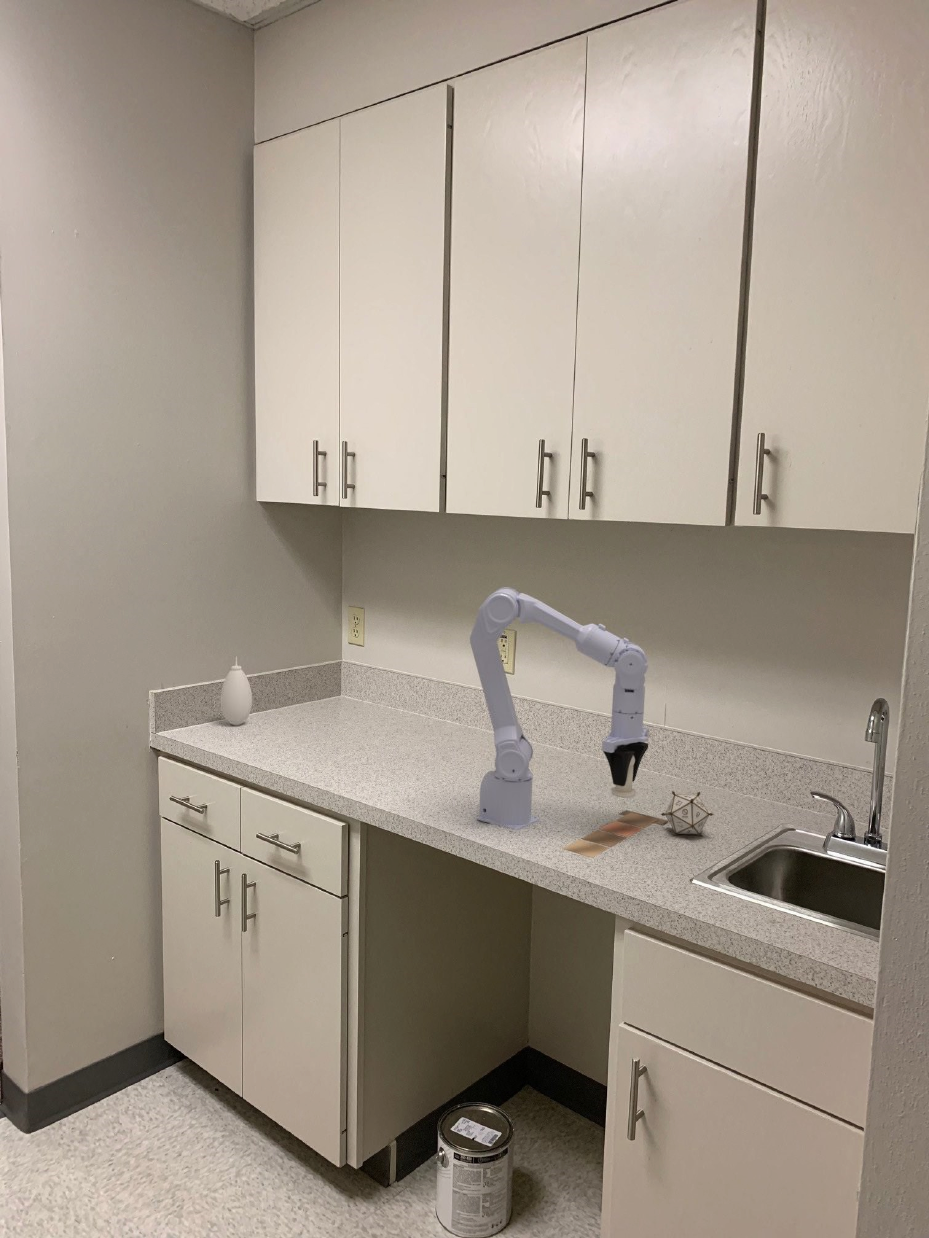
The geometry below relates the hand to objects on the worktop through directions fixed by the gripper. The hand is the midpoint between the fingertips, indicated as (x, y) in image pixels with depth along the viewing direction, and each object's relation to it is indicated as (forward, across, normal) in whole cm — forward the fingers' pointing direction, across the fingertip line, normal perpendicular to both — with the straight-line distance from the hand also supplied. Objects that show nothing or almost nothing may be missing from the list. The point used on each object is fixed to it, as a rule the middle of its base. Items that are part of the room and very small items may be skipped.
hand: (623, 782), depth 174 cm
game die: (+10, +6, -10) cm, 15 cm away
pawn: (+2, 0, 0) cm, 2 cm away
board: (+9, -3, 0) cm, 10 cm away
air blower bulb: (+9, +2, +113) cm, 113 cm away
